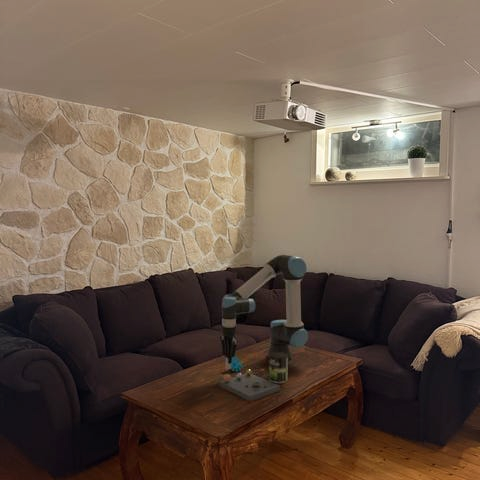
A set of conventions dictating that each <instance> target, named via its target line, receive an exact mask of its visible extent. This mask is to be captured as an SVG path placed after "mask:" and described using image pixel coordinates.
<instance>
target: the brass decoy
mask: <svg viewBox="0 0 480 480" xmlns="http://www.w3.org/2000/svg"><path fill="white" fill-rule="evenodd" d="M245 374H247V375H251V374H253V371H252V370H251V369H250V368H249V369H246V370H245Z"/></svg>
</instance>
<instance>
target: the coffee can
mask: <svg viewBox="0 0 480 480" xmlns="http://www.w3.org/2000/svg"><path fill="white" fill-rule="evenodd" d="M268 360H269V361H268V363H269V364H268V381H269V382H272V383H274V384H284V383H287V382H288V380H289V379H288V373H289V372H288V371H289V370H288V366H289V365H288V364H289V360H288V354H287V353H285V352H281V351H275V352H271V353H269V358H268Z"/></svg>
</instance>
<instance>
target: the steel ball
mask: <svg viewBox="0 0 480 480" xmlns="http://www.w3.org/2000/svg"><path fill="white" fill-rule="evenodd" d="M242 375H243V374H242V373H241V372H237V374H236V376H235V377H237V379H242Z"/></svg>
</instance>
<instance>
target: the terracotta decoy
mask: <svg viewBox="0 0 480 480" xmlns="http://www.w3.org/2000/svg"><path fill="white" fill-rule="evenodd" d="M231 378H232V376H231V375H230V374H228V373H226V374H224V376H223V379H222V381H223V380H224V381H225V382H229V381H230V380H231Z"/></svg>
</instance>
